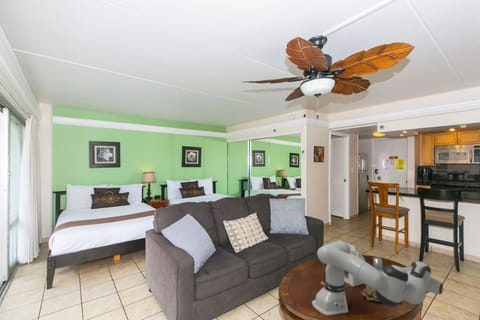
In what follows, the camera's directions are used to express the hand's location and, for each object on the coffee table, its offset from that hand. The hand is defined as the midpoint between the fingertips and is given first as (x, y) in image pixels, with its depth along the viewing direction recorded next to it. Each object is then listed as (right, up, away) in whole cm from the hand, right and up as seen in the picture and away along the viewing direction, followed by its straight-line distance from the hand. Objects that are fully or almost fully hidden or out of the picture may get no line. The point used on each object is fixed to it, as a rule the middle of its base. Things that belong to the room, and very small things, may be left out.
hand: (393, 268), depth 165 cm
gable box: (-30, -12, +9) cm, 33 cm away
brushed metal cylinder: (-5, -9, +11) cm, 15 cm away
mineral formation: (-25, -11, -19) cm, 33 cm away
